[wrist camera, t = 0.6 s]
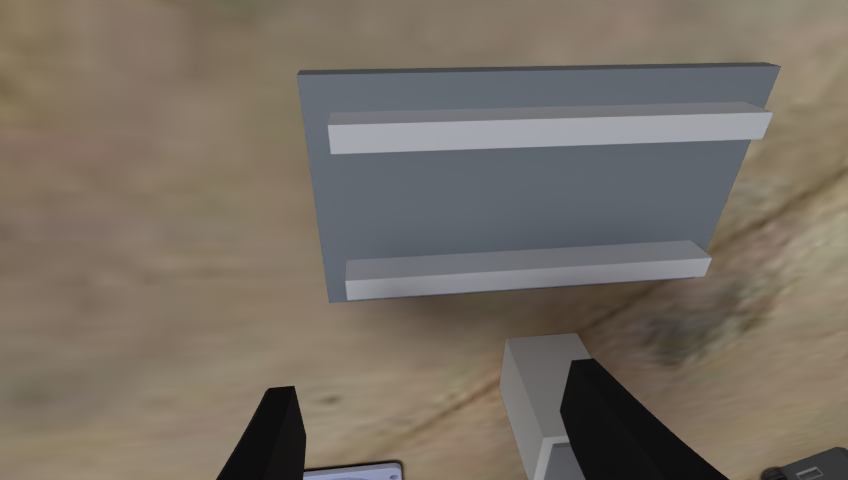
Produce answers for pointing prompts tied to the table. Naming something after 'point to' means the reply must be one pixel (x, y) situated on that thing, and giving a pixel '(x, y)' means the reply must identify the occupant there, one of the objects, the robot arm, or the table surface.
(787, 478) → the walkie-talkie
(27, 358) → the table surface
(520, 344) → the block
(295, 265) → the table surface
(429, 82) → the rail dock
